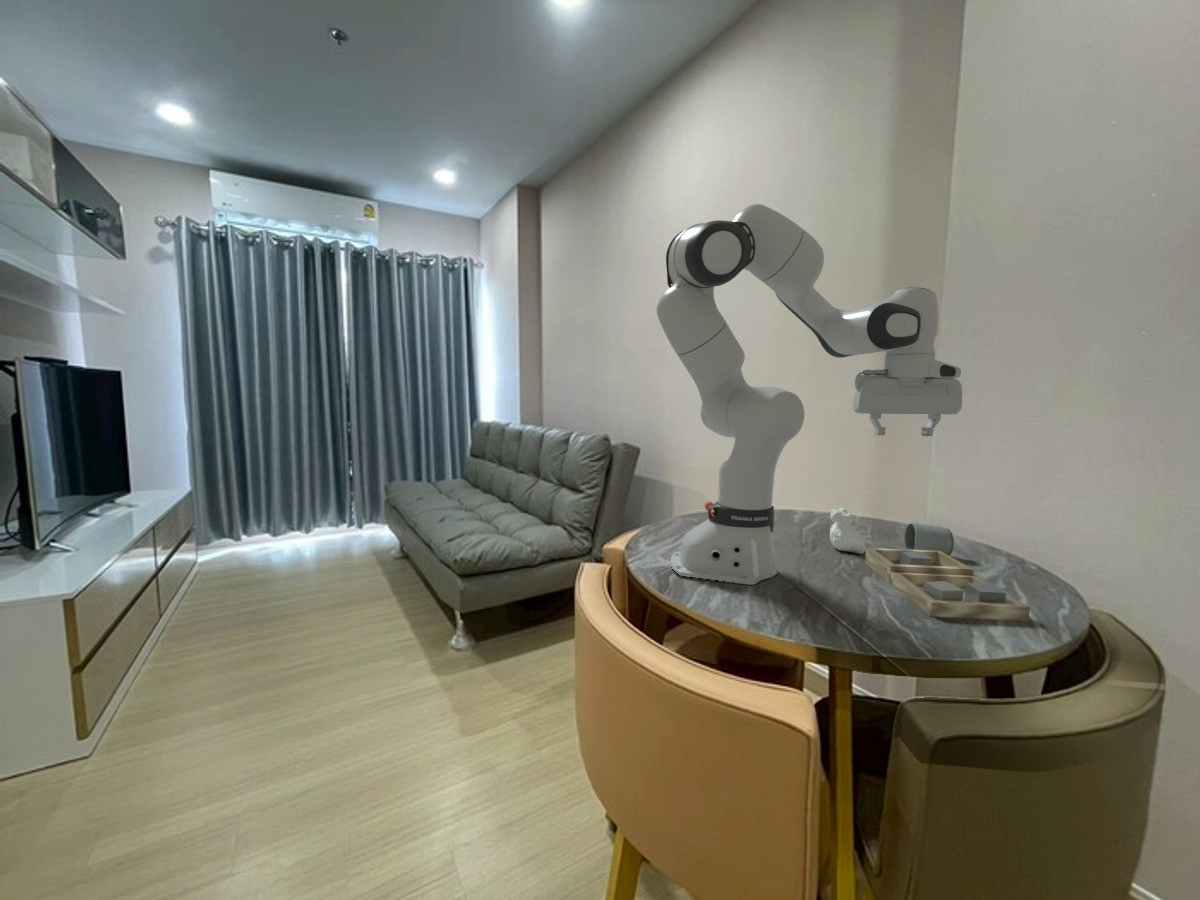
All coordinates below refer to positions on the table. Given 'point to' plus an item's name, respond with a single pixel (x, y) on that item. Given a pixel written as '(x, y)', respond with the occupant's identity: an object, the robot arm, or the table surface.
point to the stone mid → (915, 559)
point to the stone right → (983, 593)
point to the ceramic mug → (928, 538)
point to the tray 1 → (890, 562)
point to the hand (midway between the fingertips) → (903, 435)
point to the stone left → (943, 591)
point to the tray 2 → (914, 591)
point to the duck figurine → (845, 532)
